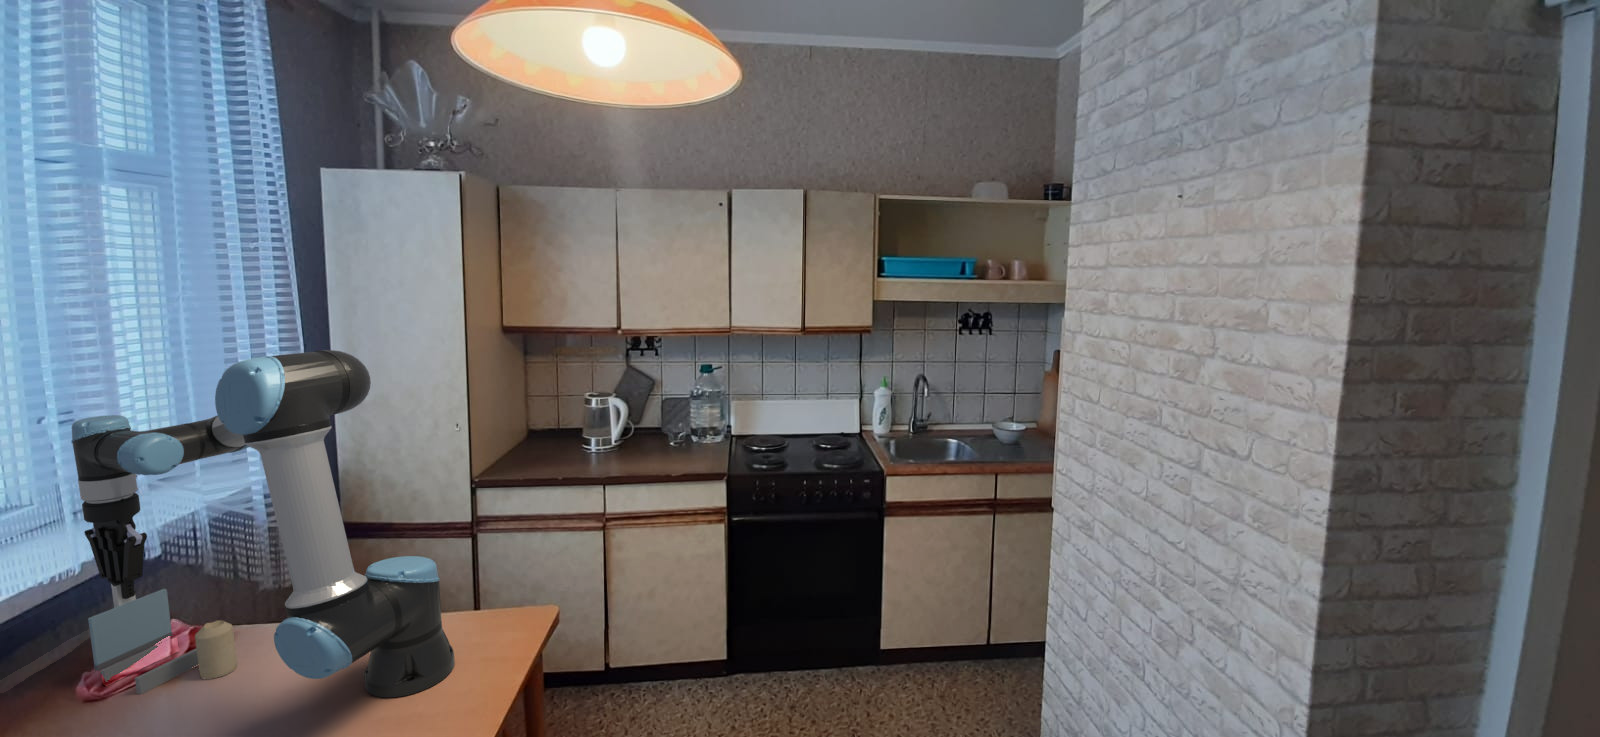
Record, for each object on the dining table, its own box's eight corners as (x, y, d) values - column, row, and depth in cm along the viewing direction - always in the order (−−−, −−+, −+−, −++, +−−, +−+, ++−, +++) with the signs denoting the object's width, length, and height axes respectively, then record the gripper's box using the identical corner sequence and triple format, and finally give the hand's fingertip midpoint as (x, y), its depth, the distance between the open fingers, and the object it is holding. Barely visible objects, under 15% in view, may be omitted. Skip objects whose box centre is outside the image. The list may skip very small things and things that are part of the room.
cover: (167, 589, 133) (163, 588, 134) (91, 619, 122) (87, 618, 122) (172, 637, 135) (169, 636, 135) (98, 671, 124) (94, 670, 124)
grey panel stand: (212, 657, 133) (210, 643, 132) (140, 694, 121) (138, 678, 121) (176, 650, 135) (174, 636, 135) (102, 685, 124) (100, 670, 123)
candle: (215, 681, 125) (209, 633, 124) (192, 677, 126) (186, 629, 125) (244, 665, 131) (239, 618, 129) (222, 661, 132) (216, 615, 130)
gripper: (158, 494, 127) (173, 607, 130) (110, 487, 130) (126, 598, 133) (109, 507, 120) (126, 627, 123) (60, 499, 123) (78, 617, 126)
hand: (126, 612), depth 128 cm, fingers closed
